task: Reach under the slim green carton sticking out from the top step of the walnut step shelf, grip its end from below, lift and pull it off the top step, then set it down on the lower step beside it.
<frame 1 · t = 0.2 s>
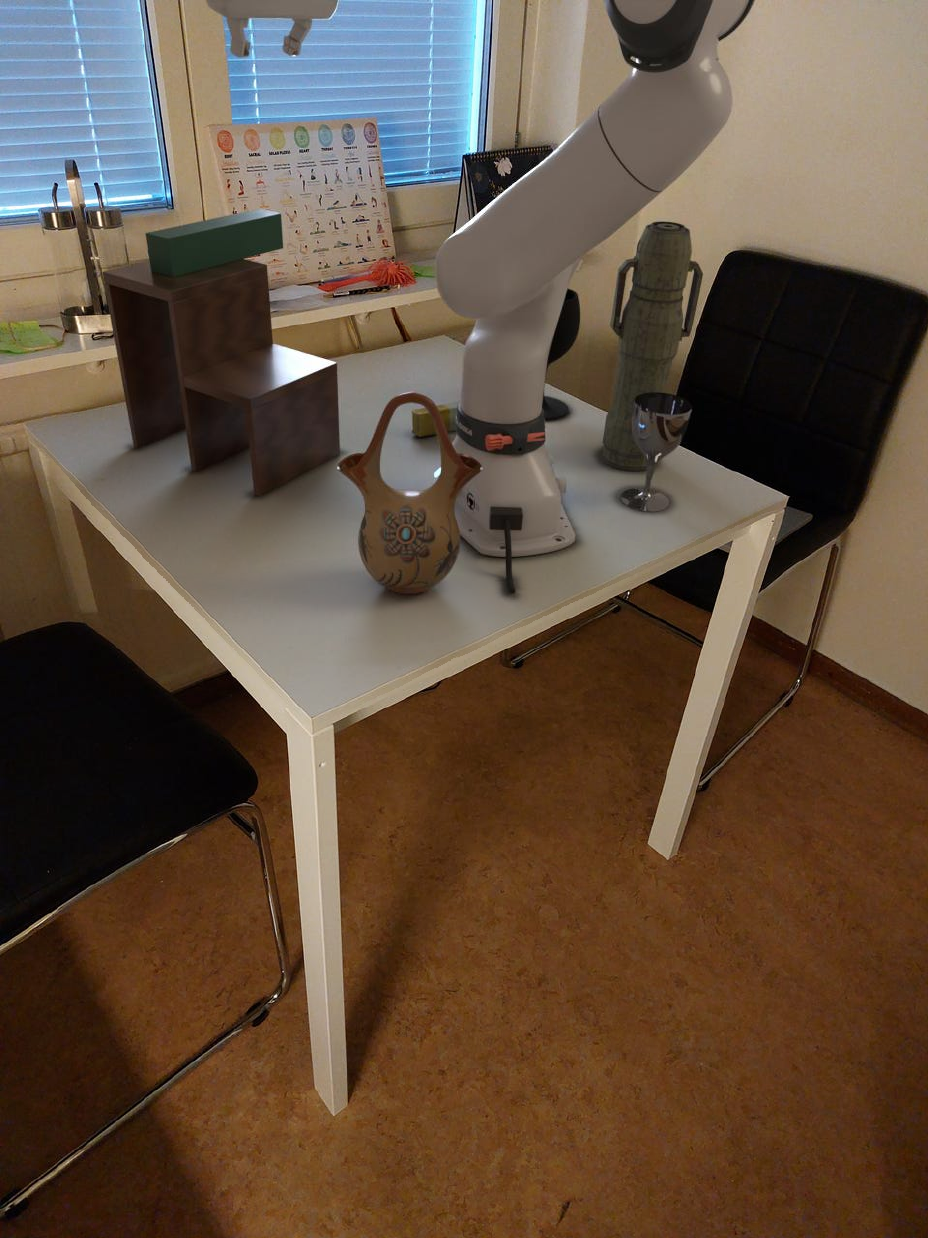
hand: (265, 54, 114), 52 cm above the table, tool tilted 20°, fingers open, 8 cm apart
carton: (220, 259, 130), point 26 cm above the table, touching step shelf
medication box: (446, 431, 148), on the table
step shelf: (237, 450, 138), on the table
wine glass 2: (644, 500, 132), on the table
ceramic vessel: (408, 587, 110), on the table
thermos: (627, 460, 143), on the table
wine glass: (539, 409, 158), on the table
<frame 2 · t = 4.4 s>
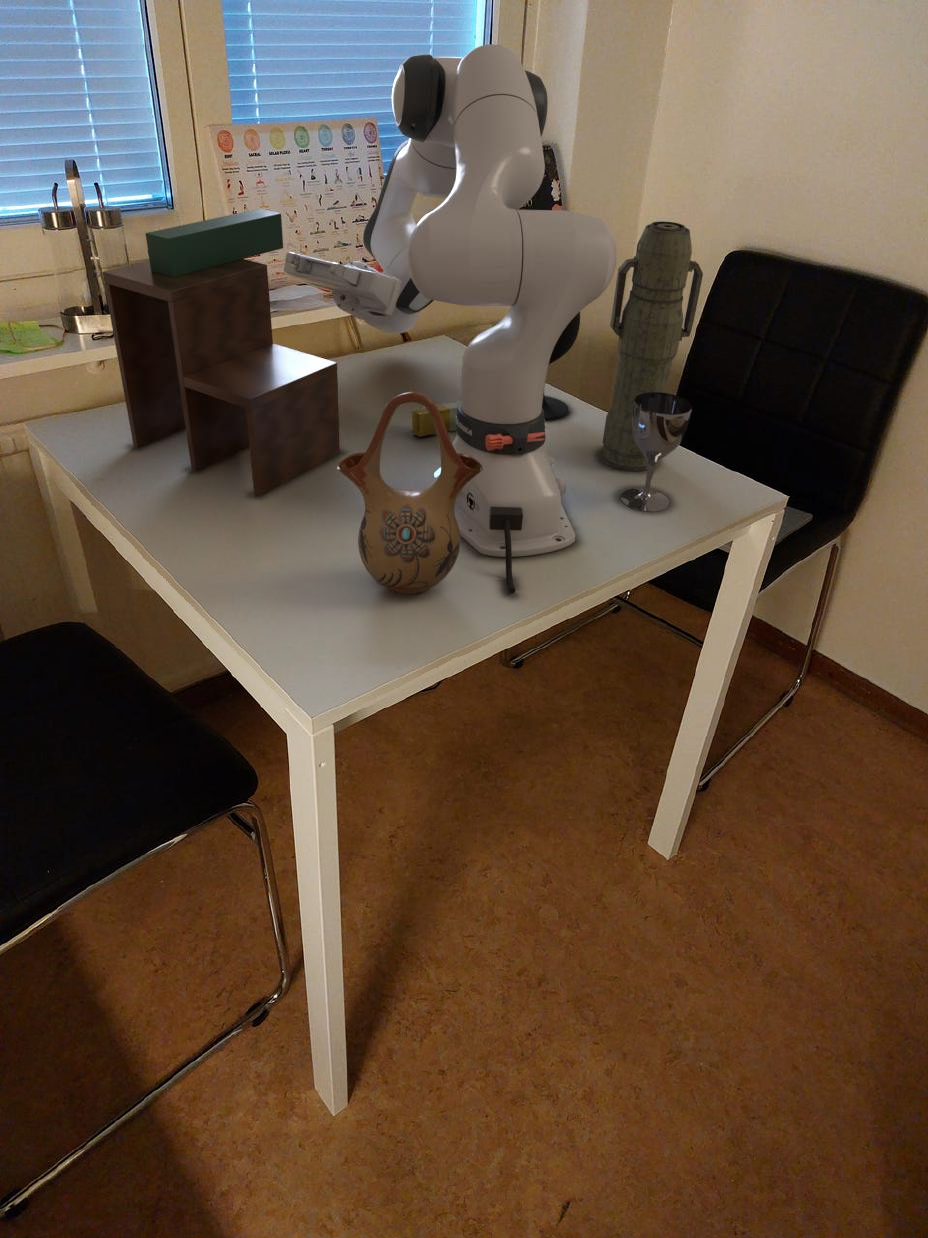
hand: (311, 261, 146), 22 cm above the table, tool pointing upward, fingers open, 8 cm apart
nothing on the table moved.
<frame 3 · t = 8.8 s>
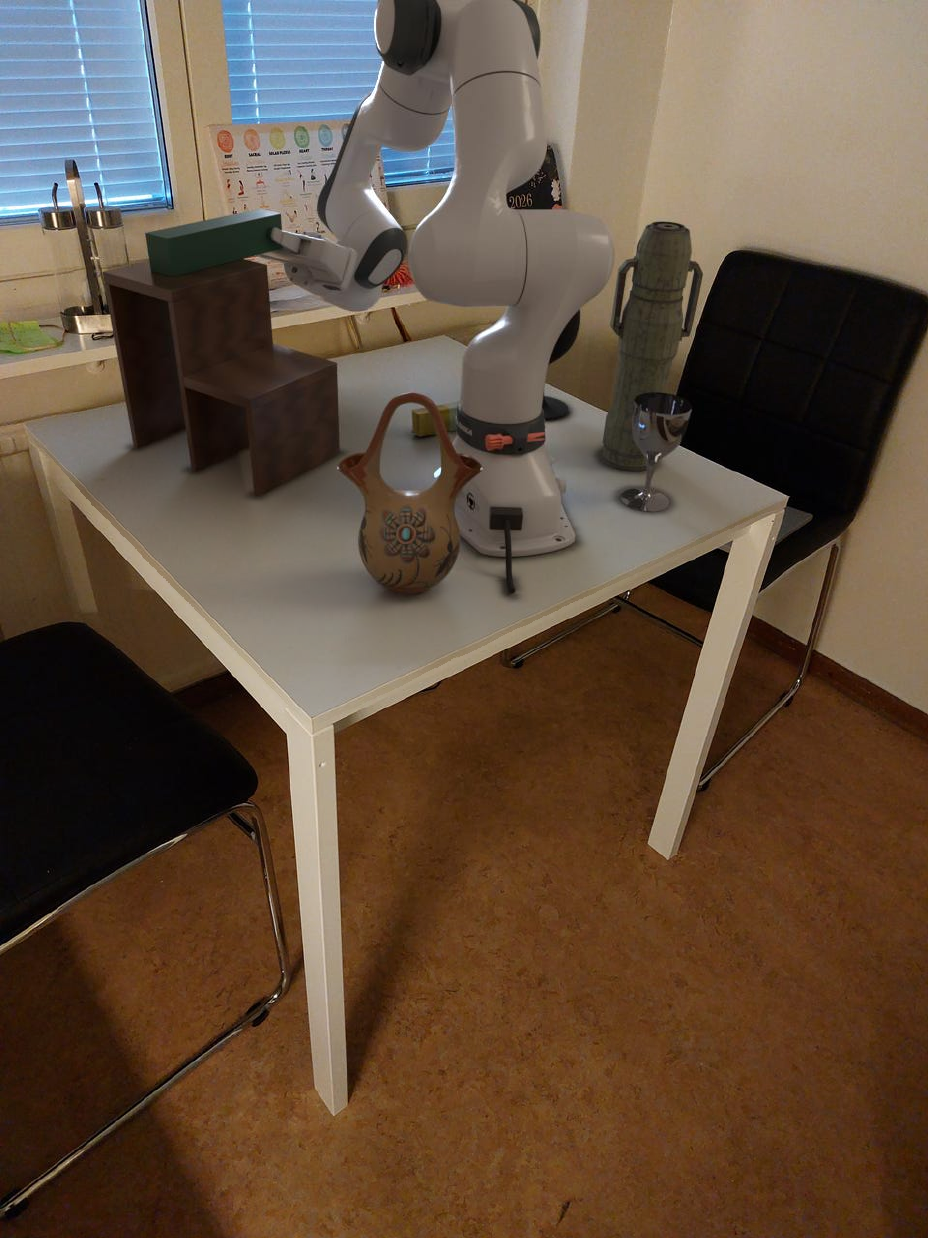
hand: (256, 228, 134), 29 cm above the table, tool pointing upward, fingers closed on carton, 4 cm apart
carton: (220, 259, 130), point 26 cm above the table, touching gripper, step shelf
everything else where it was.
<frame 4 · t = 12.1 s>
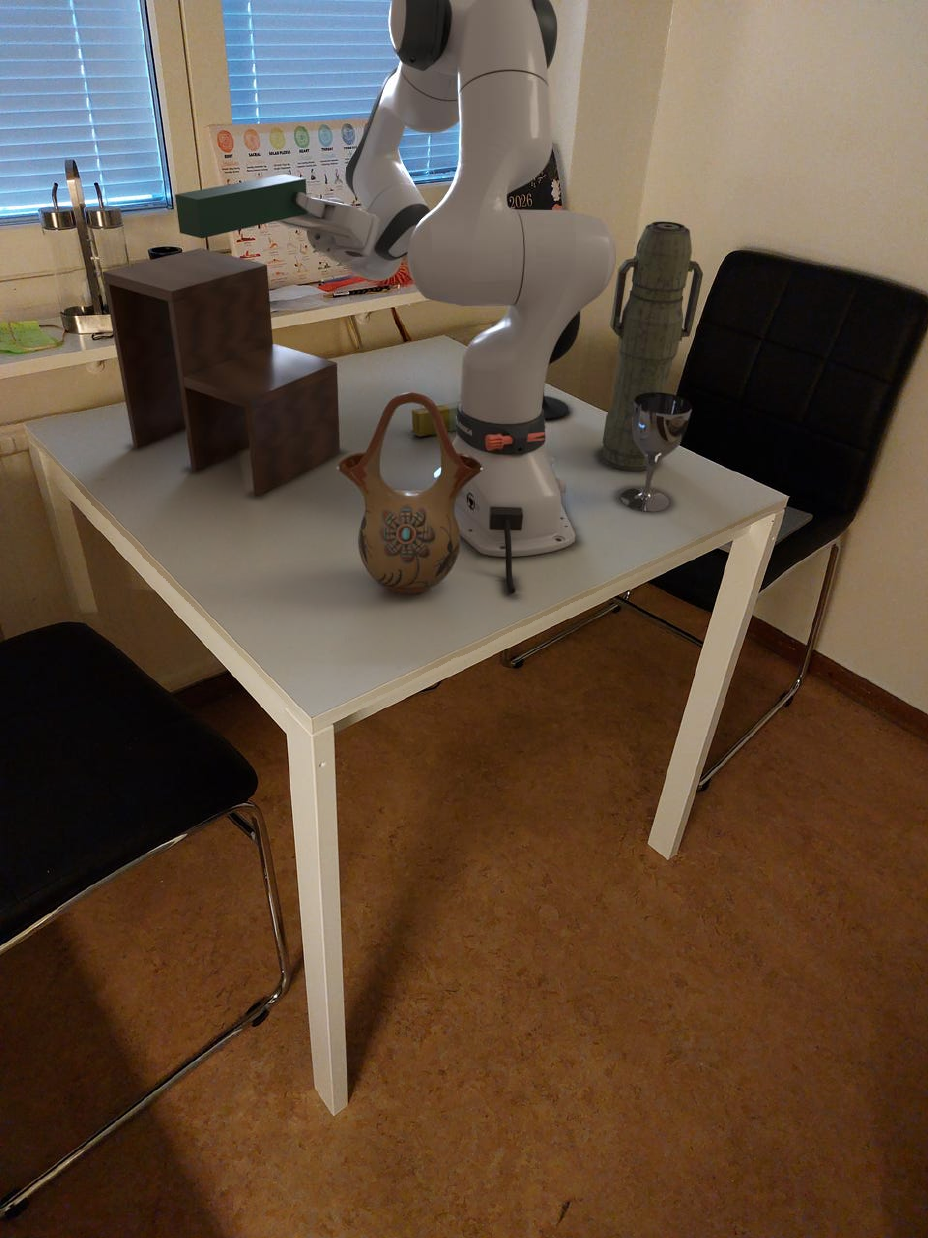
hand: (281, 193, 136), 33 cm above the table, tool pointing upward, fingers closed on carton, 4 cm apart
carton: (246, 222, 132), point 30 cm above the table, touching gripper
everything else where it was.
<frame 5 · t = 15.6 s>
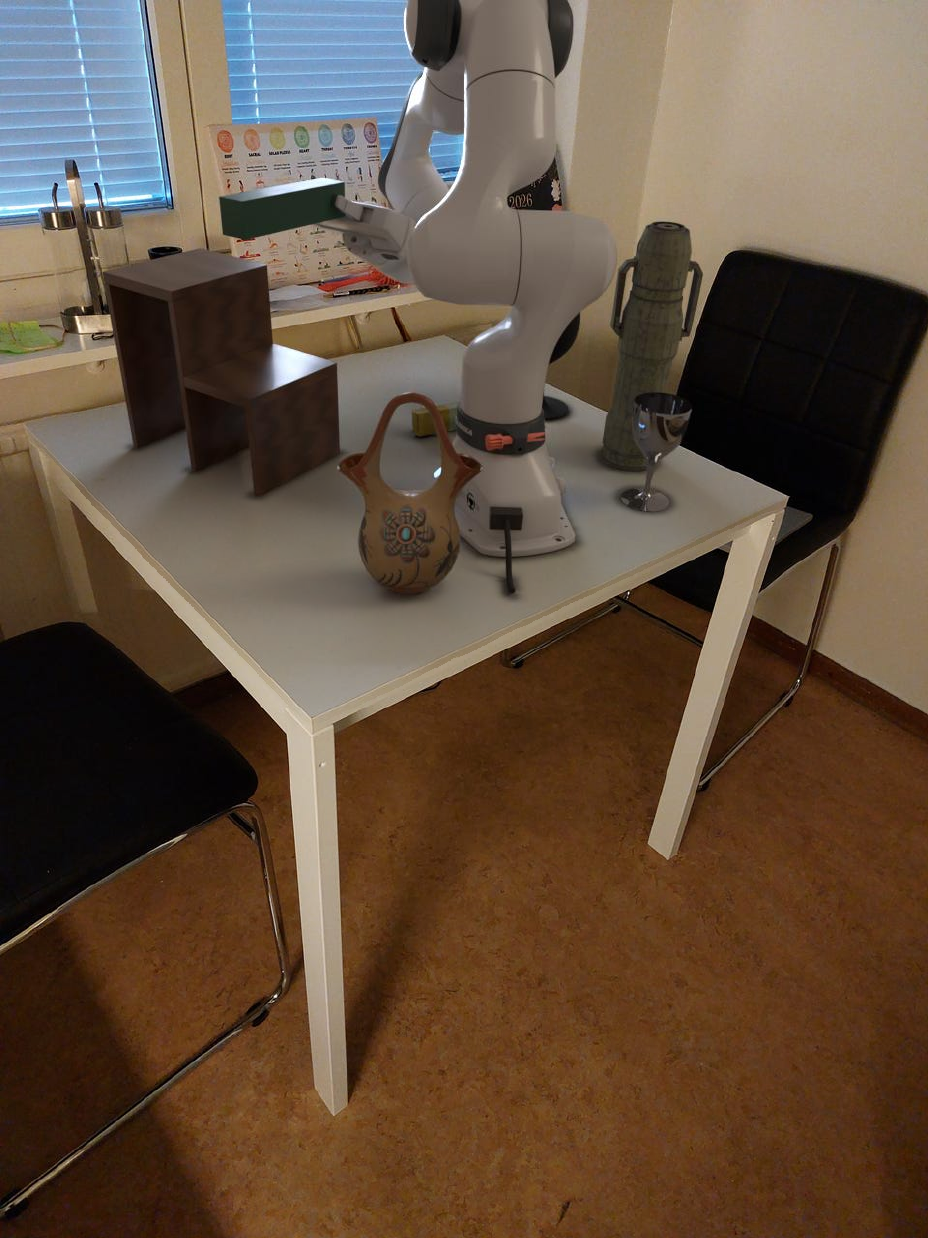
hand: (320, 196, 137), 33 cm above the table, tool pointing upward, fingers closed on carton, 4 cm apart
carton: (287, 225, 133), point 30 cm above the table, touching gripper
everything else where it was.
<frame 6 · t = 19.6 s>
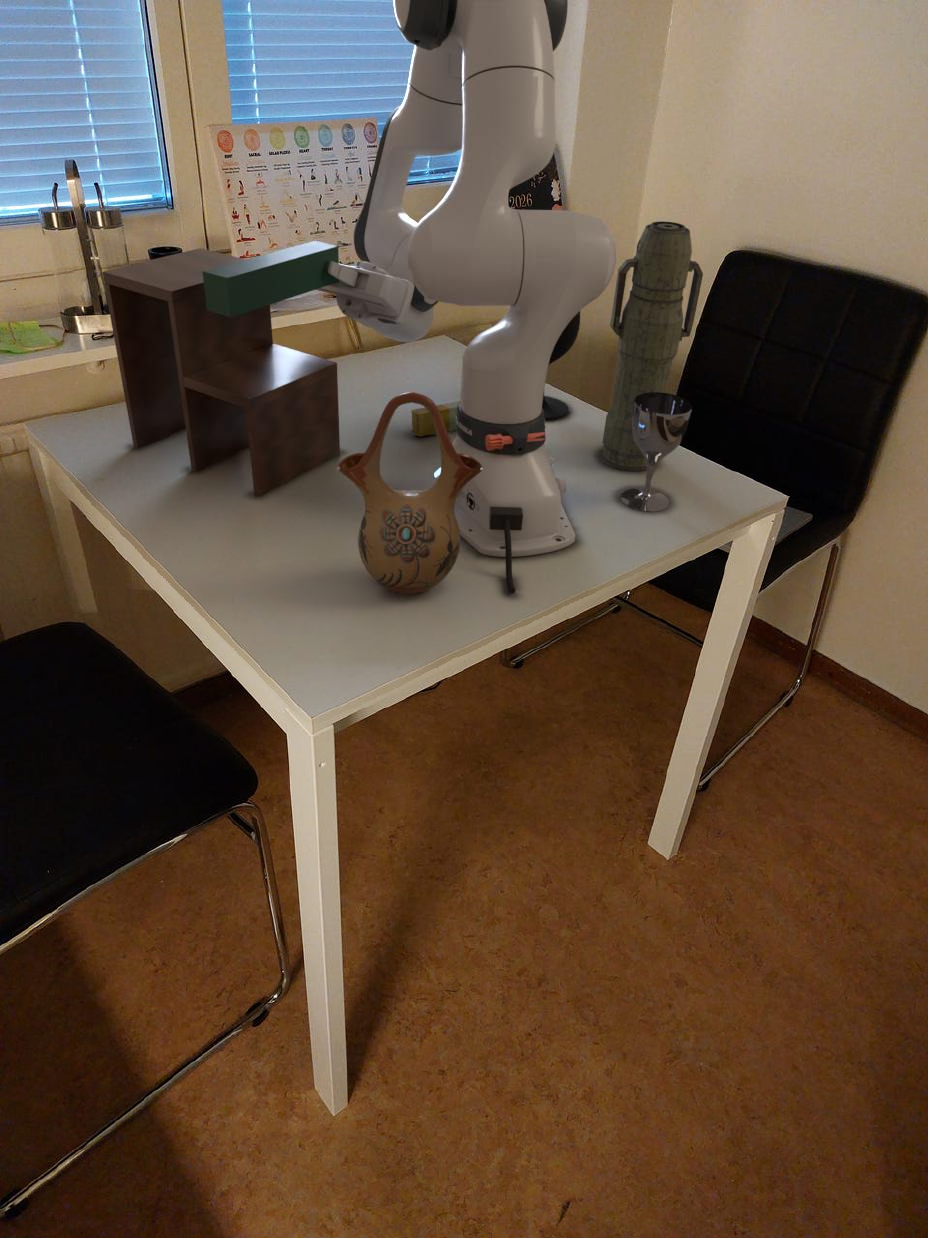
hand: (312, 262, 128), 27 cm above the table, tool pointing upward, fingers closed on carton, 4 cm apart
carton: (276, 295, 124), point 24 cm above the table, touching gripper
everything else where it was.
when the fingers open (17 cm above the table, at t = 22.6 s): carton stays where it is, resting on step shelf.
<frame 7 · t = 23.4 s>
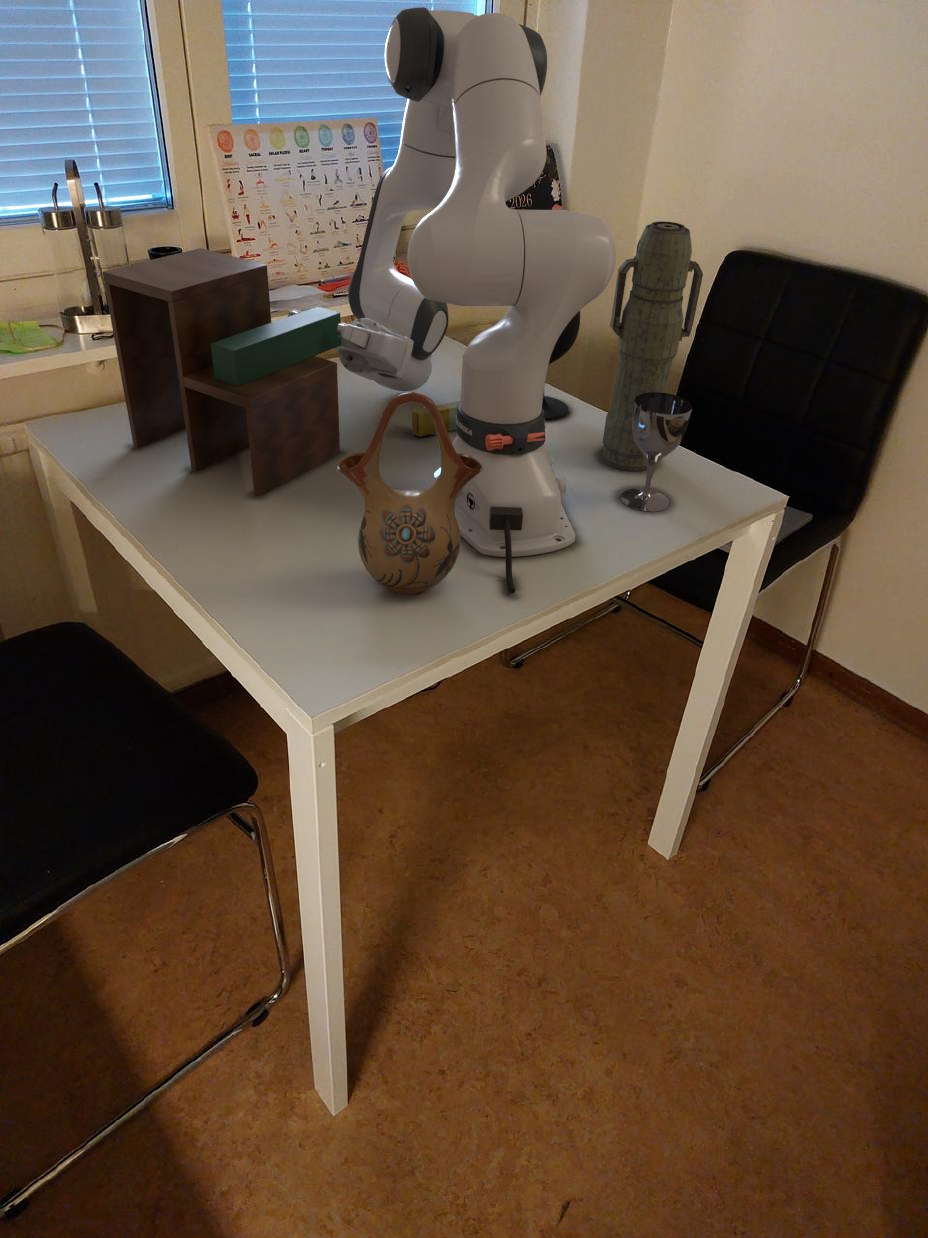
hand: (315, 322, 133), 18 cm above the table, tool pointing upward, fingers open, 8 cm apart
carton: (281, 361, 130), point 14 cm above the table, touching step shelf
everything else where it was.
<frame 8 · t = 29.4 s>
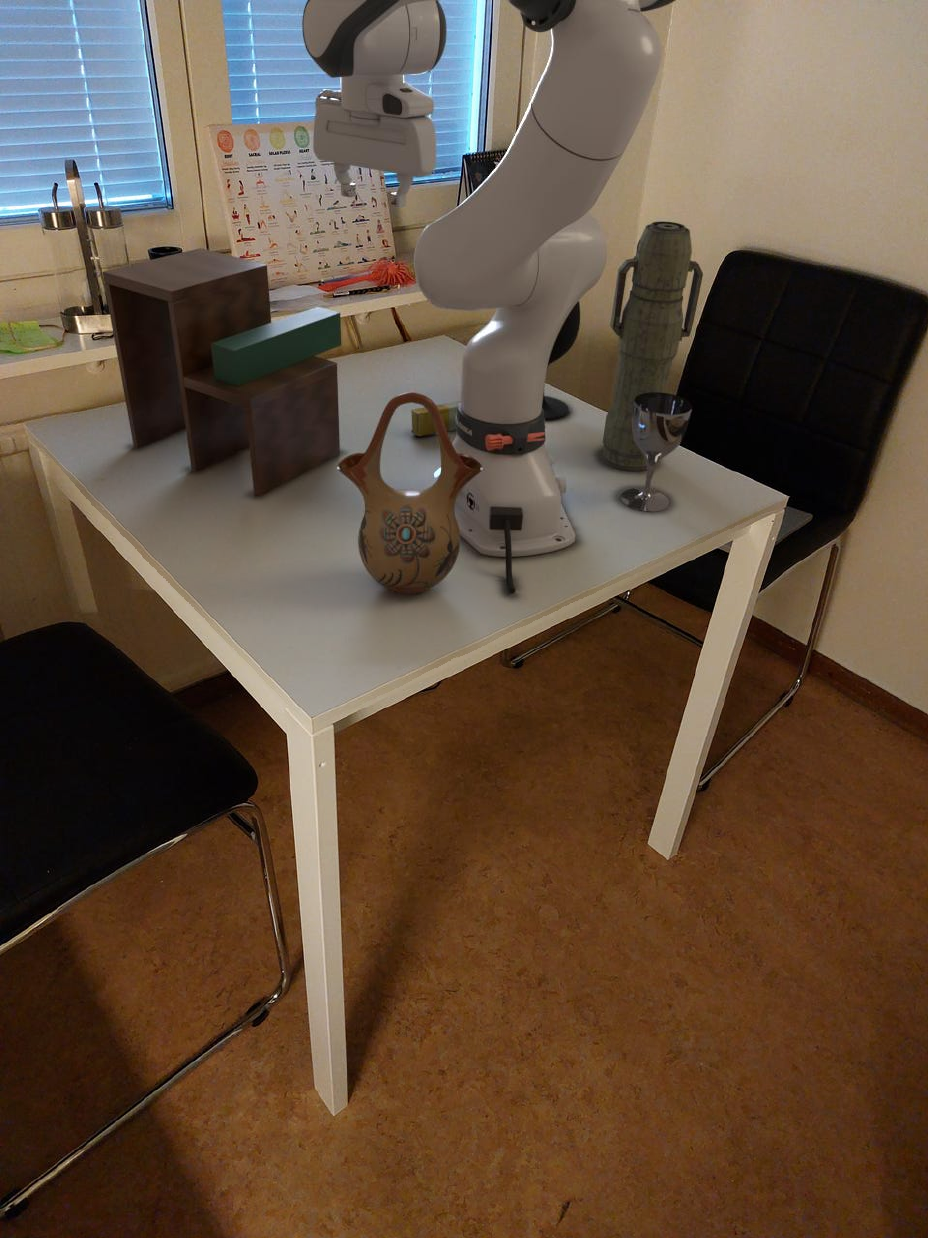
hand: (373, 201, 134), 33 cm above the table, tool pointing down, fingers open, 8 cm apart
nothing on the table moved.
at the end: carton inside the target area on the step shelf (0.1 cm from its centre), point 14.5 cm above the step shelf's base; carton tilted 0°; the gripper is holding nothing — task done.
